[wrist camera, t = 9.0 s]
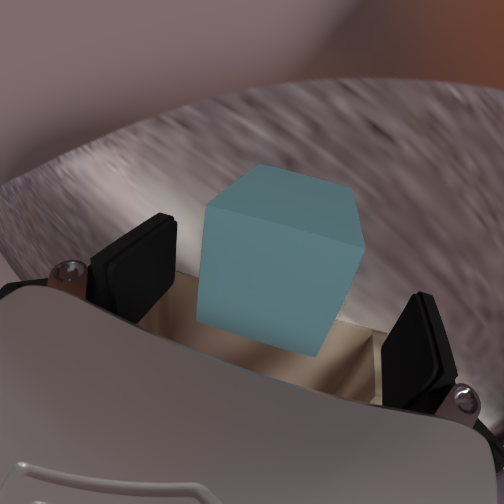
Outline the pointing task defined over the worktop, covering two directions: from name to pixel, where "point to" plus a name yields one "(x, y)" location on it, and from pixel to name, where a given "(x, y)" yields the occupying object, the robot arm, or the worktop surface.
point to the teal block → (278, 258)
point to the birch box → (275, 348)
